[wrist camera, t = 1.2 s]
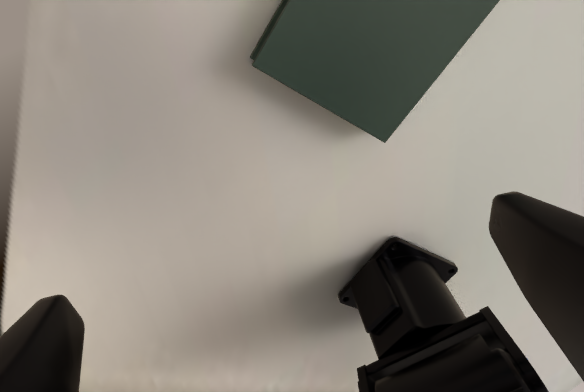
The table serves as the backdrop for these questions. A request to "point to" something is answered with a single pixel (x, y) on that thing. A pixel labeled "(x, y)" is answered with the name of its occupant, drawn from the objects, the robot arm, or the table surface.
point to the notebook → (366, 53)
